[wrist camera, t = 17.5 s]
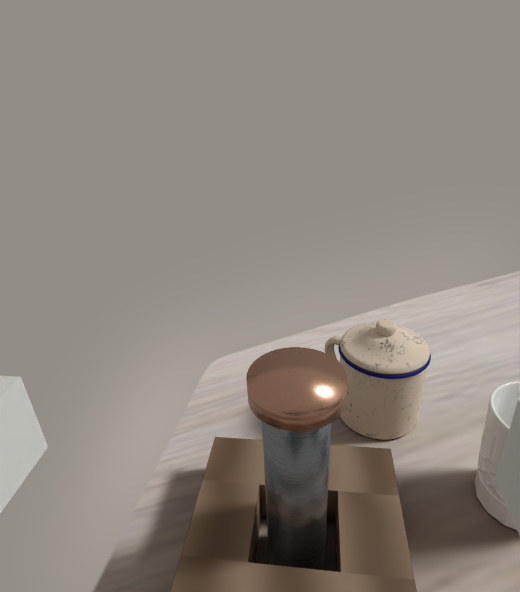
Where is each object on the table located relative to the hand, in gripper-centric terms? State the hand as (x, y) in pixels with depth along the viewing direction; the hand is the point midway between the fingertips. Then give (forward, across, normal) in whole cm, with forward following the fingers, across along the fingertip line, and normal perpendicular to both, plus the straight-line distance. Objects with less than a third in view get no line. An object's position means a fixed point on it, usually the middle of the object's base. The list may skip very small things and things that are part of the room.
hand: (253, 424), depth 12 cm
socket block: (+12, 0, -26) cm, 28 cm away
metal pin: (+12, 0, -26) cm, 28 cm away
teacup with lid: (+30, +7, -26) cm, 40 cm away
